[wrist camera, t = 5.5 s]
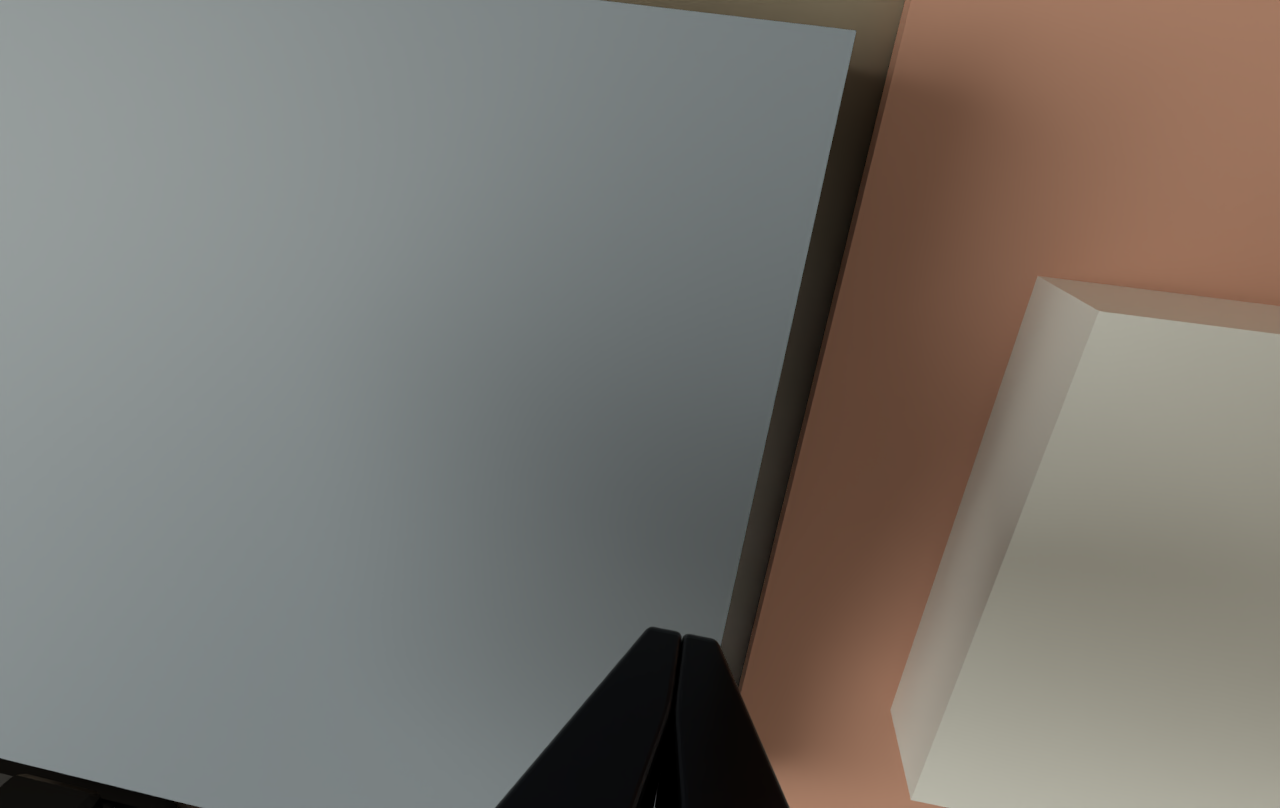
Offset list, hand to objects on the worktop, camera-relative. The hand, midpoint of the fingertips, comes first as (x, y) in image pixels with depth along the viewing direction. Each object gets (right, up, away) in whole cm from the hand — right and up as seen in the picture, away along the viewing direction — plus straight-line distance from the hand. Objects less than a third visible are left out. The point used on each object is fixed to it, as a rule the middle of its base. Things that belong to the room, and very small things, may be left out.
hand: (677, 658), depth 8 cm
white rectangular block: (+8, 0, +2) cm, 8 cm away
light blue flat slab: (-6, +3, +5) cm, 8 cm away
